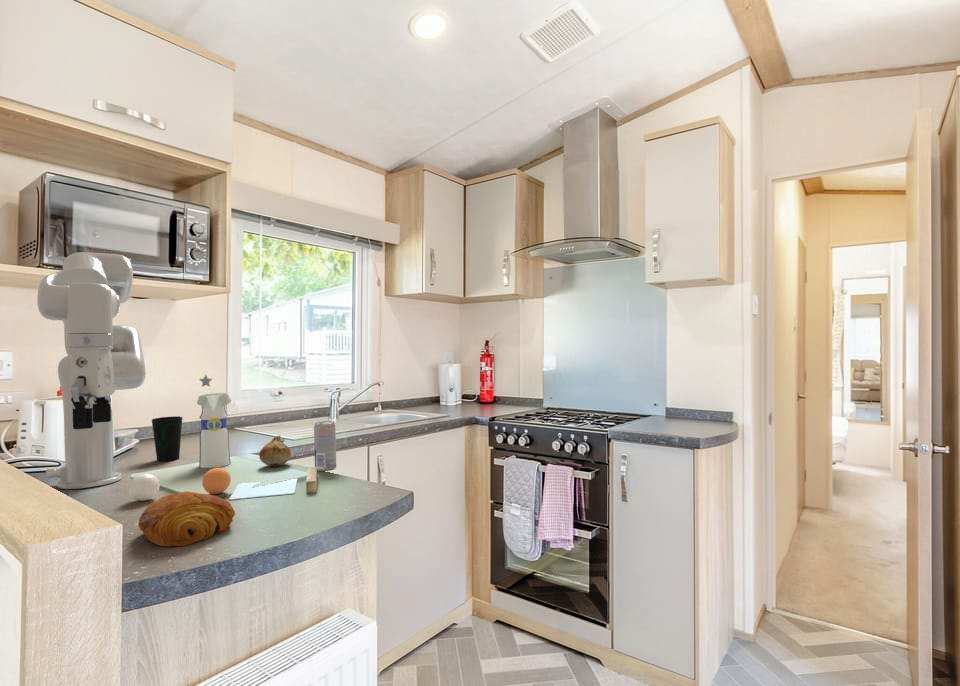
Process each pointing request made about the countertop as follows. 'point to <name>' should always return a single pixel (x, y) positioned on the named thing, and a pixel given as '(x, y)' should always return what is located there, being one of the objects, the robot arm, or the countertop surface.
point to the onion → (275, 452)
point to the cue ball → (144, 487)
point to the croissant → (185, 518)
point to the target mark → (264, 489)
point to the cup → (167, 437)
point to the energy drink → (325, 445)
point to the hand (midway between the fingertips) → (93, 425)
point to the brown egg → (216, 481)
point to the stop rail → (311, 480)
